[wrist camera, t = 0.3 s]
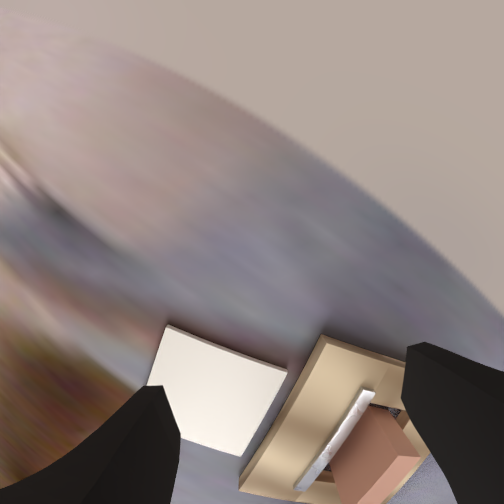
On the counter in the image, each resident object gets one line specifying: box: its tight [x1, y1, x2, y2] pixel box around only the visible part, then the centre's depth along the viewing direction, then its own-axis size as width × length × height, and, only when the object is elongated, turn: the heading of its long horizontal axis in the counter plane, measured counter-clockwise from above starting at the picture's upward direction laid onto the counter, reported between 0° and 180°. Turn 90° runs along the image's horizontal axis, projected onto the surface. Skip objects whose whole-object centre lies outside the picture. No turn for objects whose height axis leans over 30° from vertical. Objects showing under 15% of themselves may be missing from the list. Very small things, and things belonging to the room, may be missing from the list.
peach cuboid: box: [329, 406, 421, 504], centre depth 17 cm, size 6×2×6 cm, turn 158°
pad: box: [147, 325, 288, 457], centre depth 19 cm, size 8×8×1 cm
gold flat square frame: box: [239, 334, 430, 504], centre depth 19 cm, size 14×14×2 cm
